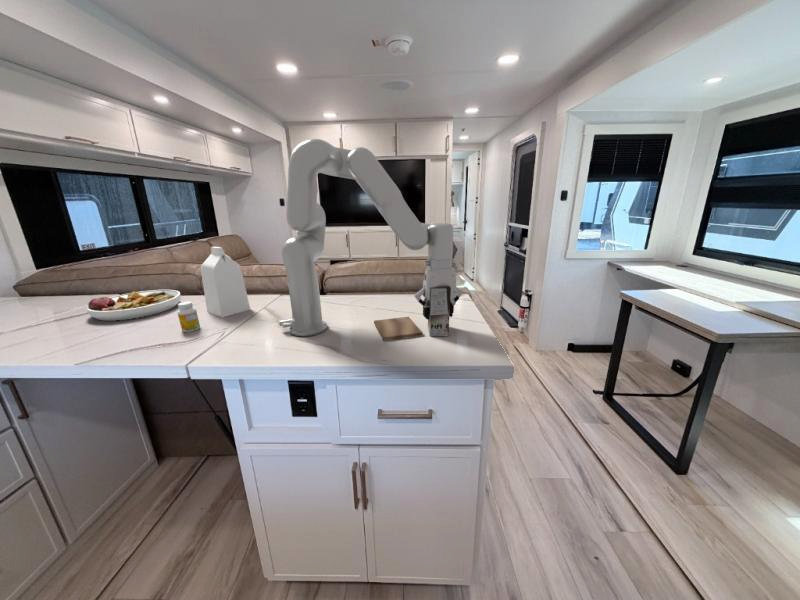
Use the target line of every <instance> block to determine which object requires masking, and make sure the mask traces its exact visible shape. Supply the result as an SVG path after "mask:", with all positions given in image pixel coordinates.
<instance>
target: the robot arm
mask: <svg viewBox="0 0 800 600" xmlns="http://www.w3.org/2000/svg"><path fill="white" fill-rule="evenodd" d="M287 171H288V172H287V174H288V175H287V176H288V177H287V197H286V198H287V199H286V216H285V217H286V222H287V224H288V227H289V228H290V229H291V230H292V231H295V232H297V235H296V236H292V237H290V238H289V239H287V240H286V241H285V242H284V243H283V245H282V247H281V252H280V253H281V259H282V263H283V266H284V269H285V274H286V279H287V285H288V291H289V301H290V307H291V315H292V316H291V318H288V319H282V320H279V324H278V325H279V326H280V327H282V328H288V327H289V328H288V329H289V333H290V334H291V335H293V336H296V337H309V336H315V335H319V334H321V333H323V332H325V331H326V330H327V329H328V323H327V322H326V321H325V320H323V314H322V305H321V304H322V303H321V296H320V295H321V294H320V285H319V277H318V273H317V269H316V265H315V261H317V260H318V259H320V258H321V257H322V256H323V252H324V249H325V237H326V223H327V220H326V219H327V217H326V212H325V210H324V208H323V207H322V205H321V204H320V203H318V175H319V174H324V175H326V176H327V175H328V176H332V177H339V178H344V179H350V180H355V181H356V183H357V184H358V185H359V186H360V188H361V189H362V191H363V192H364V194H366V196H367V197H368V198H369V200H370V201H371V202H372V204H373V205H374V206H375V208H376V209H377V211H378V212H379V214H380V215H381V216H382V217H383V219H384V221H386V223H387V225H388V226H389V228H390V229H391V230H392V231H393V233H394V234H395V236H396V237H397V238H398V240H400V242H401V243H402V244H403V245H404V247H406V248H407V249H408V250H411V251H420V250H422V249H423V248H425V247H426V246H427V259H426V260H425V261H423V266H426V268H425V271H424V274H423V280H422V281H423V283H422V288H421V289H420V290H418V291H417V292H416V293H414V298H415V299H416V300H417V302H418V303H419V304H420V305H422V316H423V317H424V319H426V320H427V321H428V319H429V311H430V308H429V307H428V306H429V304H430V294H431V288H436V287H442V286H450V287H451V296H450V315H449V318H452V317H453V314H454V309H455V305H456V303H457V301H459V299H460V297H462V295H463V293H464V292H463V290H462V289H460V288H459V287H457V277H456V275H457V274H456V269H455V268H454V267H453V254H454V253H453V251H454V250H453V249H454V226H453V224H451V223H448V222H436V223H423V222H421V221H419V219H418V218H417V216H416V215H415V213H414V212H413V211H412V210H411V208H410V207H409V205H408V203H407V202H406V200H405V199H404V197H403V195H402V191H401V190H400V189H399V187H398V186H397V184H396V183H395V182H394V181H393V179H392V177H390V175H389V174H388V173H387V171H386V170H385V168H384V167H383V165H382V164H381V163H380V162H379V160H378V158H377V156H375V154H374V153H373V152H372V151H370V149H368V148H367V147H363V146H362V147H360V146H359V147H355V148H353V149H346V148H341V147H335V146H333V145H332V144H331V143H330V142H328V141H326V140H324V139H320V138H310V139H307V140H304V141H302V142H301V143H299V144H298V145H296V147H294V149H293V150H292V152H291V154H290V157H289V160H288V169H287ZM422 296H423V297H424V298H423V299H422V298H421V297H422Z"/></svg>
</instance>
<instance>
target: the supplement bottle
mask: <svg viewBox="0 0 800 600" xmlns="http://www.w3.org/2000/svg"><path fill="white" fill-rule="evenodd" d="M193 306H194V305H193V302H192V301H190V300H189V301H183V302H179V303H178V304H177V307H178V310H177V316H178V321H179V324H180V328H181V331H182V332H184V333H190V332H195V331H197V330H199V329H200V328H201V325H200V320H199V315H198V312H197V308H196V307H193ZM194 330H195V331H194Z"/></svg>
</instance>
